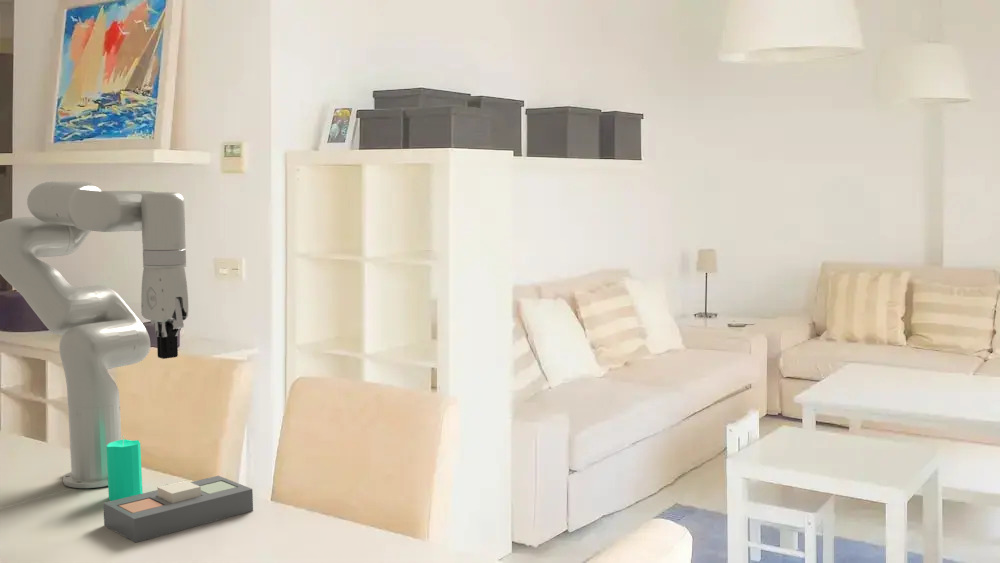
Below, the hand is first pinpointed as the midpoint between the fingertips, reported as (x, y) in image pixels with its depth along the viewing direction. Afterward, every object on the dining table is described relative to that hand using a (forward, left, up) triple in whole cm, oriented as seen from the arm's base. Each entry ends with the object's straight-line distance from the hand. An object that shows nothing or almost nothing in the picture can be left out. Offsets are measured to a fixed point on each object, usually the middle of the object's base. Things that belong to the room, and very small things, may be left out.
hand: (167, 357), depth 179 cm
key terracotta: (+11, -11, -26) cm, 31 cm away
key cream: (+12, -4, -24) cm, 27 cm away
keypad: (+12, -4, -27) cm, 30 cm away
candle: (-7, -6, -27) cm, 29 cm away
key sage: (+11, +2, -26) cm, 29 cm away
